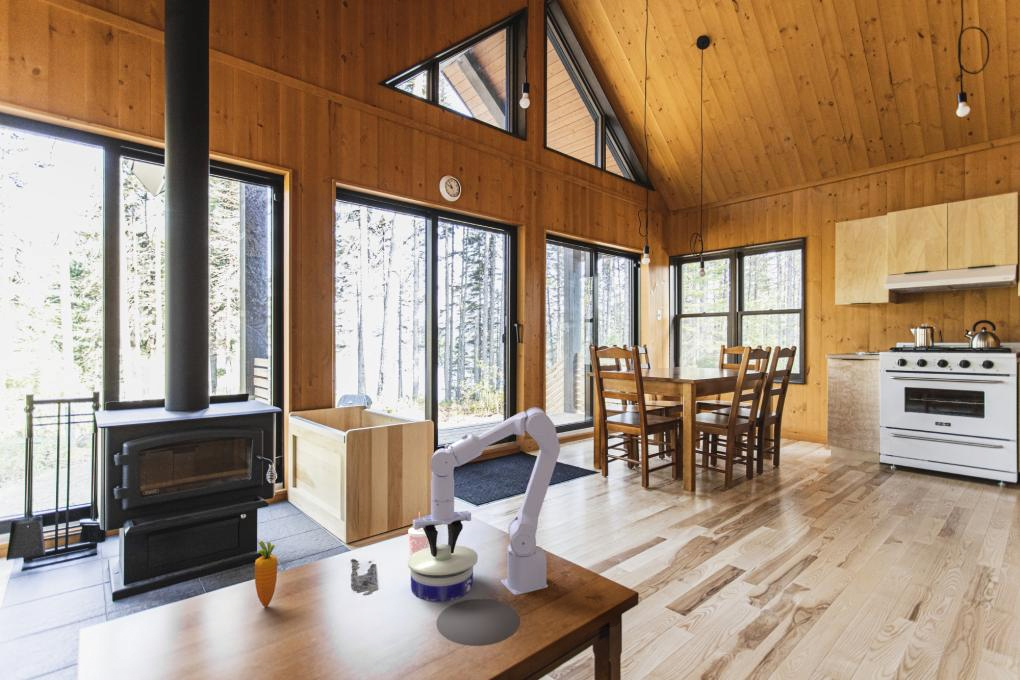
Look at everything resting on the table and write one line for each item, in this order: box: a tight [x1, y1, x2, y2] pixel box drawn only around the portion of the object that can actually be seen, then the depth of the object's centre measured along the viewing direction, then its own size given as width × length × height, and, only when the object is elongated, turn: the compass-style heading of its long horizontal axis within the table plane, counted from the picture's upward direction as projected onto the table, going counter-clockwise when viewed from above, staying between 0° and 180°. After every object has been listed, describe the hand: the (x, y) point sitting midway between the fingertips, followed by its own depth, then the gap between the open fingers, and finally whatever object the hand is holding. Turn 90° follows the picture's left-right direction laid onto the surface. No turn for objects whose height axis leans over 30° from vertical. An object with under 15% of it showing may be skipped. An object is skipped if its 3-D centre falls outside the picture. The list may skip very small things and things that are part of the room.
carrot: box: [254, 540, 278, 608], centre depth 115 cm, size 5×5×15 cm
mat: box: [436, 598, 521, 647], centre depth 109 cm, size 18×18×1 cm
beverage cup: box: [407, 511, 430, 557], centre depth 138 cm, size 6×6×14 cm
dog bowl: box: [410, 566, 474, 603], centre depth 124 cm, size 15×15×6 cm
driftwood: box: [350, 558, 379, 596], centre depth 129 cm, size 21×7×2 cm, turn 16°
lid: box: [407, 543, 479, 575], centre depth 124 cm, size 17×17×3 cm
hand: (442, 553), depth 124 cm, fingers closed on lid, 4 cm apart
